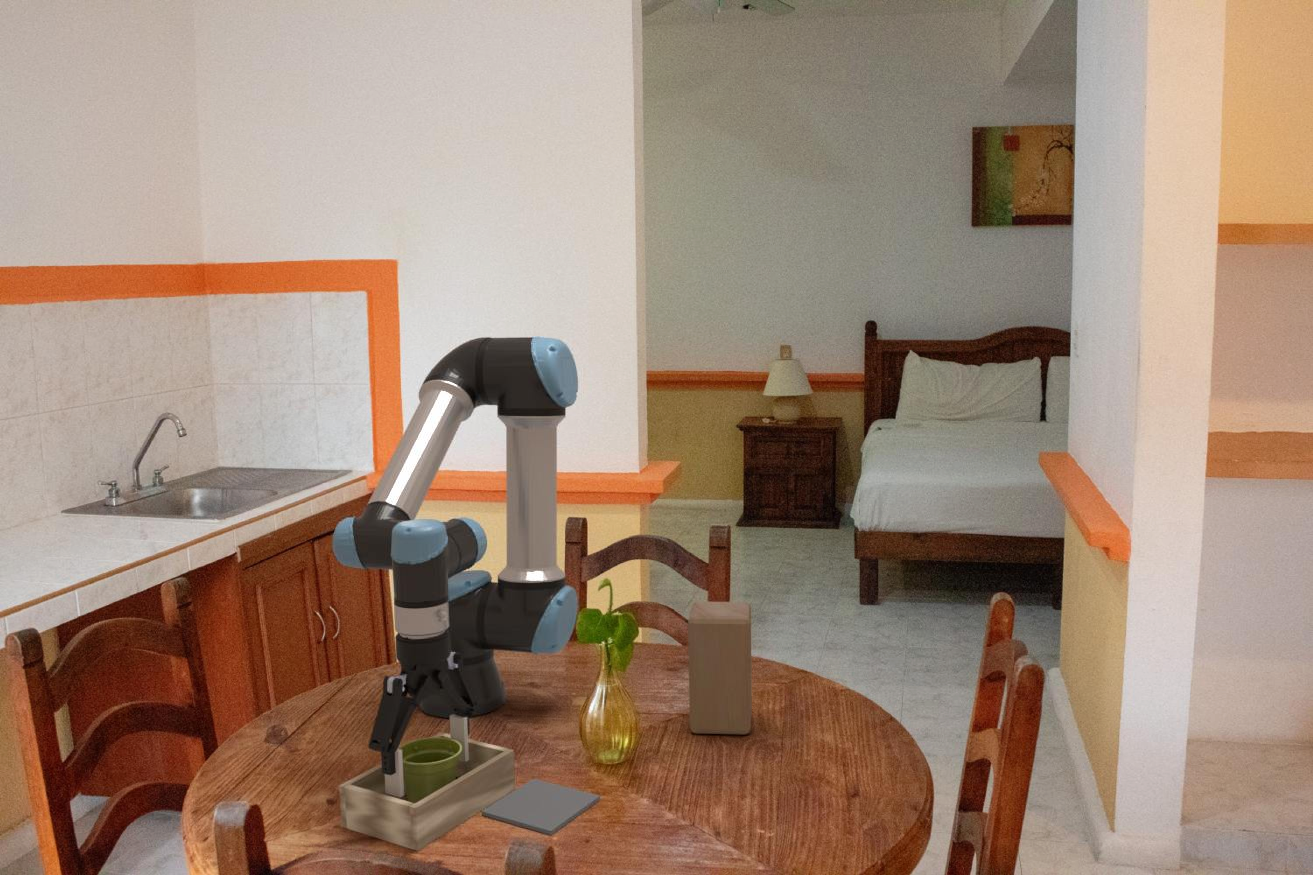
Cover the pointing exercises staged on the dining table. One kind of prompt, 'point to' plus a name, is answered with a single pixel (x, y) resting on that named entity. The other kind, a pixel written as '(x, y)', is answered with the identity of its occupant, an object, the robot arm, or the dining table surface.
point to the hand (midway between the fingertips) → (428, 776)
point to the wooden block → (720, 667)
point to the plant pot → (429, 765)
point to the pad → (541, 806)
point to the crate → (428, 799)
